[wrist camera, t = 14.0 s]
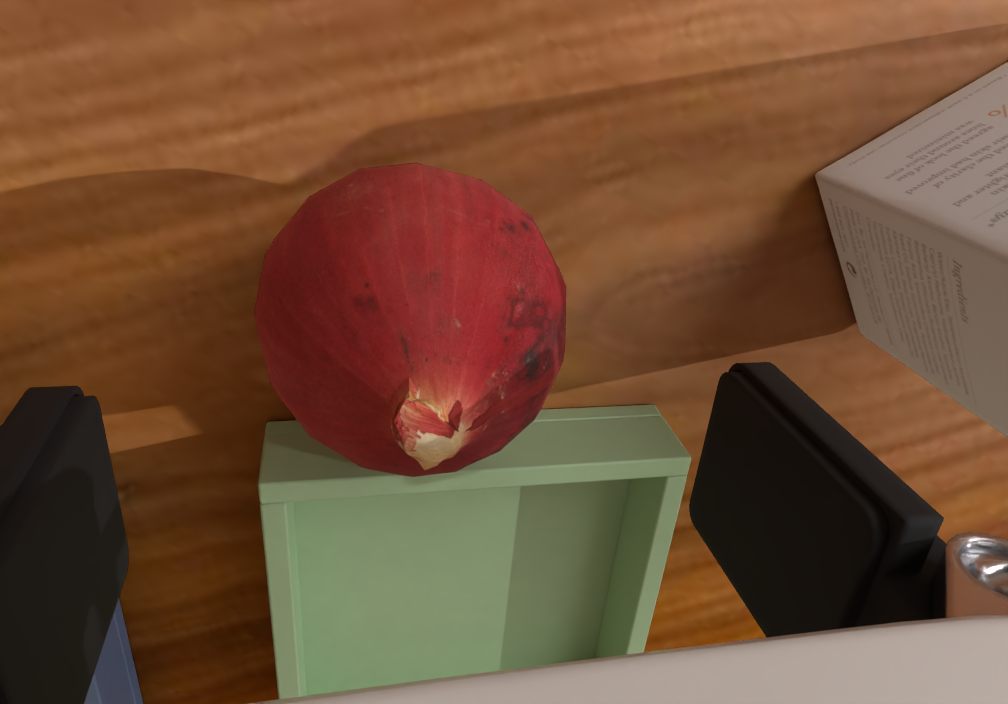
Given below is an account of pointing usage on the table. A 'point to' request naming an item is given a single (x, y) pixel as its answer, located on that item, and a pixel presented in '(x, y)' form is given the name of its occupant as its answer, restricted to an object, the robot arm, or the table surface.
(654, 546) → the green tray
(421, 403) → the onion
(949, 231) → the small box
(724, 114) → the table surface
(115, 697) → the slate tray
